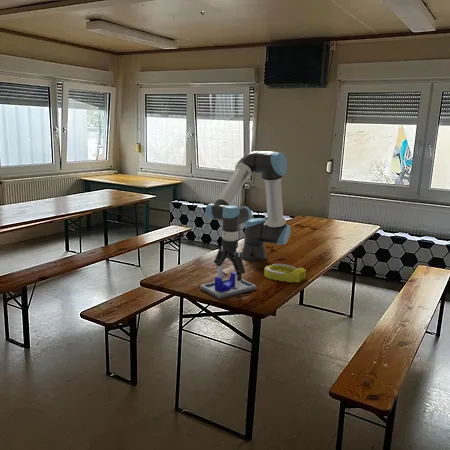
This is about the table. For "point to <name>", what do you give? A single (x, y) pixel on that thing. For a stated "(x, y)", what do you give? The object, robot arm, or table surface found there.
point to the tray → (233, 291)
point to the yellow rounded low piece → (284, 273)
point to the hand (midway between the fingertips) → (228, 282)
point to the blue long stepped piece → (226, 286)
